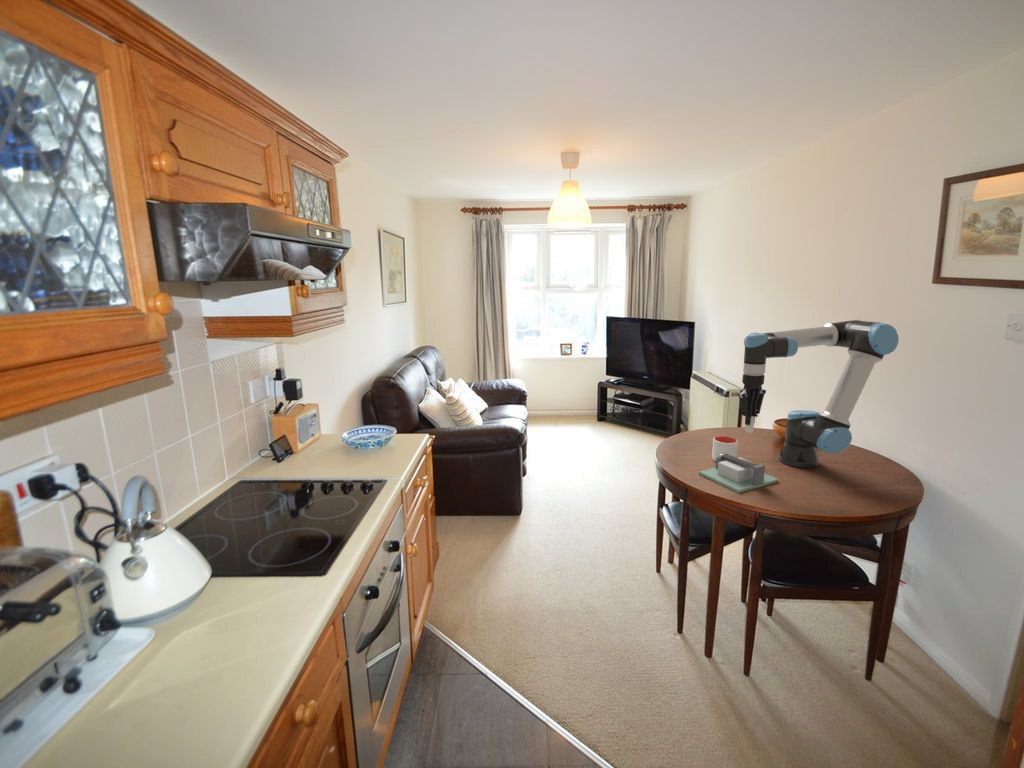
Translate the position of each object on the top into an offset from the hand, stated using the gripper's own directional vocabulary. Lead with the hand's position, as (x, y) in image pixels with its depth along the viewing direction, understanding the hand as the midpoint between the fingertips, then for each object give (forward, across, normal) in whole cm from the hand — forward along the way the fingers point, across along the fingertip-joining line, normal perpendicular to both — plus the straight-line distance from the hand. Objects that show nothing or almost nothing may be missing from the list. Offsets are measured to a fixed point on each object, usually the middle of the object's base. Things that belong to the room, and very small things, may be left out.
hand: (748, 432), depth 191 cm
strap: (+14, +1, -3) cm, 14 cm away
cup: (+21, -9, -19) cm, 30 cm away
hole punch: (+21, +1, -3) cm, 21 cm away
